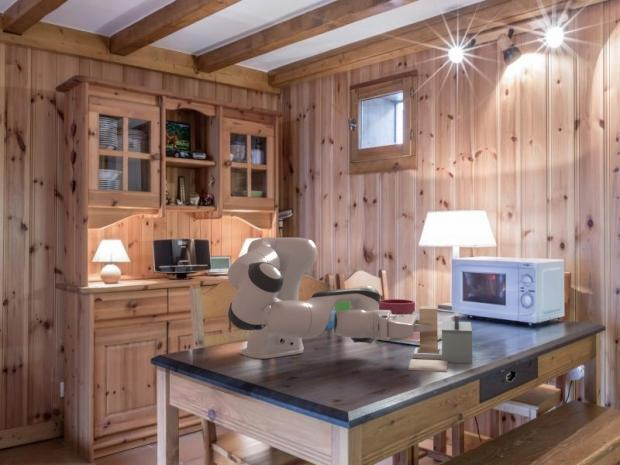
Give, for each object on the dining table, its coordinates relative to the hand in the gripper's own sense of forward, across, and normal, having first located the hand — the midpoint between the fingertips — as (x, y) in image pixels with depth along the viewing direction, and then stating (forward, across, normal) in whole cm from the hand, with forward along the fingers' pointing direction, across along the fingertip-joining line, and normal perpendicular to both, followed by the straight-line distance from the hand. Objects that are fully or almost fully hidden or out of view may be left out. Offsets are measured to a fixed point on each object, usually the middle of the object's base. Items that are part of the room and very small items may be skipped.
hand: (431, 325), depth 169 cm
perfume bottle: (-46, -59, -12) cm, 76 cm away
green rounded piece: (-37, -77, -12) cm, 86 cm away
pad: (-1, -1, -12) cm, 12 cm away
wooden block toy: (+3, -15, -12) cm, 19 cm away
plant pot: (-16, -51, -12) cm, 55 cm away
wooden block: (-1, 0, -8) cm, 8 cm away
